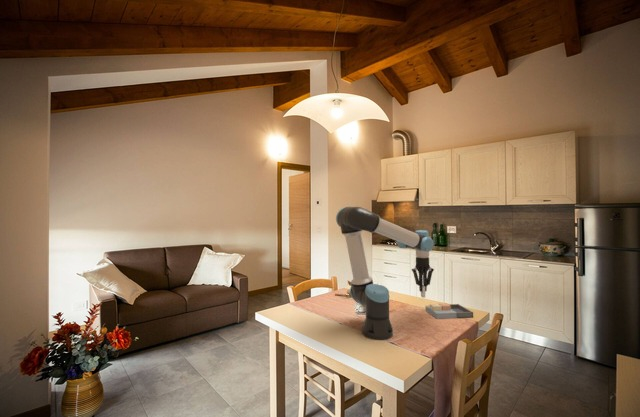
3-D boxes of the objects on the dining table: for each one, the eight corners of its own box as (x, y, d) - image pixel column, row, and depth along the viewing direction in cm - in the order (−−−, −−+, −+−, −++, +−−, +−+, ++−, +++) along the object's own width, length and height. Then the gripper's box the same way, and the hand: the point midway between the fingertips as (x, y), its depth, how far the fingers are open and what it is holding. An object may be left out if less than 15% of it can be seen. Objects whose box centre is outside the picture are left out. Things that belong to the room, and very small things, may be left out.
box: (473, 317, 172) (473, 312, 172) (457, 318, 171) (457, 312, 171) (458, 308, 187) (458, 304, 187) (443, 309, 186) (443, 304, 186)
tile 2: (450, 310, 176) (450, 305, 176) (442, 310, 176) (442, 306, 176) (446, 307, 181) (446, 303, 181) (438, 307, 181) (438, 303, 181)
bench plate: (456, 317, 172) (456, 312, 172) (436, 318, 171) (436, 313, 171) (444, 309, 186) (444, 304, 186) (425, 310, 185) (425, 305, 185)
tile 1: (441, 310, 176) (441, 306, 176) (433, 310, 175) (433, 306, 175) (437, 307, 181) (437, 303, 181) (429, 308, 180) (429, 303, 180)
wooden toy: (366, 297, 214) (366, 278, 214) (361, 301, 205) (361, 281, 205) (338, 293, 224) (338, 275, 224) (332, 297, 215) (332, 277, 215)
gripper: (430, 255, 182) (430, 294, 182) (409, 256, 180) (409, 295, 180) (436, 257, 174) (436, 298, 174) (414, 258, 173) (415, 299, 173)
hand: (423, 296), depth 177 cm, fingers closed
